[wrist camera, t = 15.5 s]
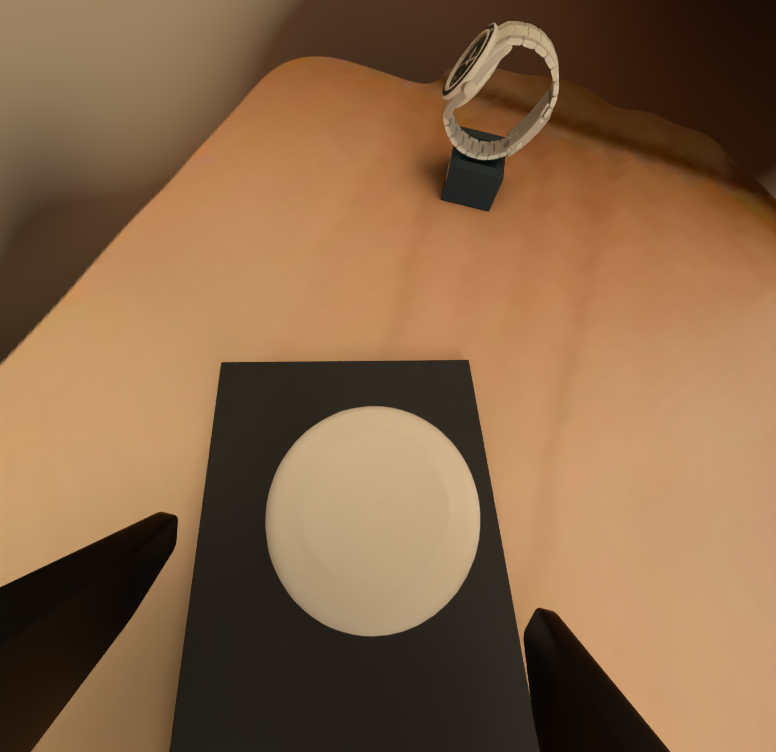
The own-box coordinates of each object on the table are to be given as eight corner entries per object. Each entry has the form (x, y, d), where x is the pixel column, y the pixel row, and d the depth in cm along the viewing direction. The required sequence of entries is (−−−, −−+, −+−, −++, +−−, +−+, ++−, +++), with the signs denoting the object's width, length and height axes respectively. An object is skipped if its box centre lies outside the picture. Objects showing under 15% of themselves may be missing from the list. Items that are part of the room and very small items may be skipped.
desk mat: (535, 747, 17) (540, 752, 16) (164, 808, 15) (160, 815, 14) (466, 362, 25) (468, 359, 25) (223, 364, 23) (221, 362, 23)
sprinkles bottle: (322, 479, 20) (296, 382, 8) (402, 494, 21) (491, 420, 8) (301, 570, 18) (225, 618, 6) (389, 586, 19) (482, 663, 6)
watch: (428, 155, 34) (463, -5, 24) (511, 175, 34) (580, 25, 24) (418, 194, 32) (454, 35, 22) (508, 216, 32) (583, 67, 22)
